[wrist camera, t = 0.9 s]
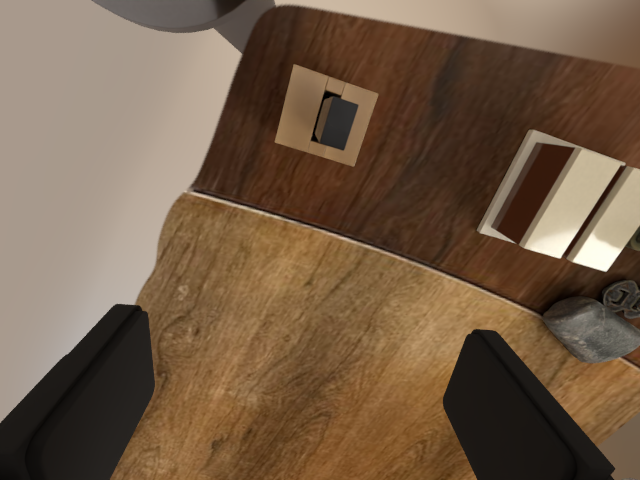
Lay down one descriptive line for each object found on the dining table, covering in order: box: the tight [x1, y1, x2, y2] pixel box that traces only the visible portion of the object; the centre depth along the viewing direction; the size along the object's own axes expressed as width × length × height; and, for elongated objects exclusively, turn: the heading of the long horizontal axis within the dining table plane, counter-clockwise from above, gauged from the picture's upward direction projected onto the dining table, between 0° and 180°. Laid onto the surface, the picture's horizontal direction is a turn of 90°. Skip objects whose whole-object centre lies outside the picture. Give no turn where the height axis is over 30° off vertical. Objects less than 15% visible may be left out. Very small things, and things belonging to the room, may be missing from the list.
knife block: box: [275, 64, 378, 167], centre depth 29 cm, size 7×6×7 cm
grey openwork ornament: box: [601, 280, 640, 319], centre depth 42 cm, size 5×8×1 cm, turn 69°
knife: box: [315, 96, 359, 151], centre depth 24 cm, size 1×3×17 cm, turn 163°
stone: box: [543, 296, 640, 363], centre depth 42 cm, size 14×4×10 cm
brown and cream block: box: [477, 129, 640, 272], centre depth 34 cm, size 12×12×7 cm
